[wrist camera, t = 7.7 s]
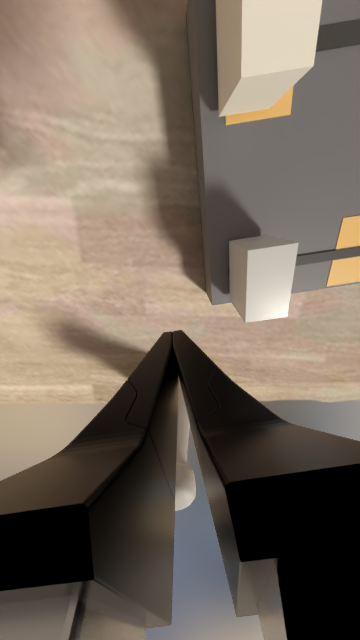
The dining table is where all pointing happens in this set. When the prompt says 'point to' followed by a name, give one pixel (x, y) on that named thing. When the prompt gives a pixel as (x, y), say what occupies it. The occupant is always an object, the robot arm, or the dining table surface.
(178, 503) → the salt shaker
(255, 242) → the block
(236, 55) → the cream fader
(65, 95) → the dining table surface
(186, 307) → the dining table surface
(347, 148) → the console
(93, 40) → the dining table surface
